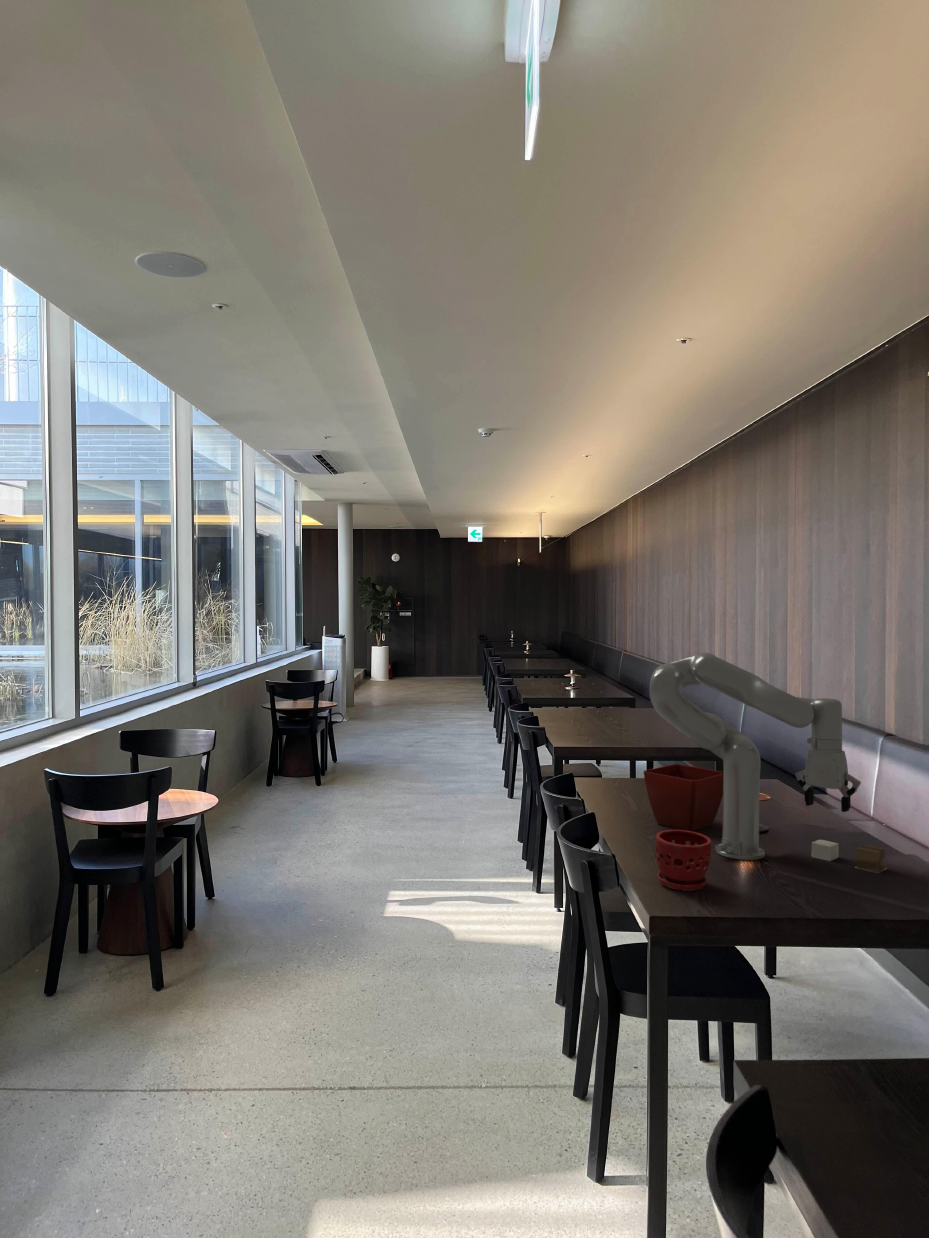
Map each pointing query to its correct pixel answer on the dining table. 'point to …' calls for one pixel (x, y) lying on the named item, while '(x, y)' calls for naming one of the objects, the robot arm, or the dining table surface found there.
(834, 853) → the cream block
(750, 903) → the dining table surface
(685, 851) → the plant pot
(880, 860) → the walnut block
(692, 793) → the plant pot
